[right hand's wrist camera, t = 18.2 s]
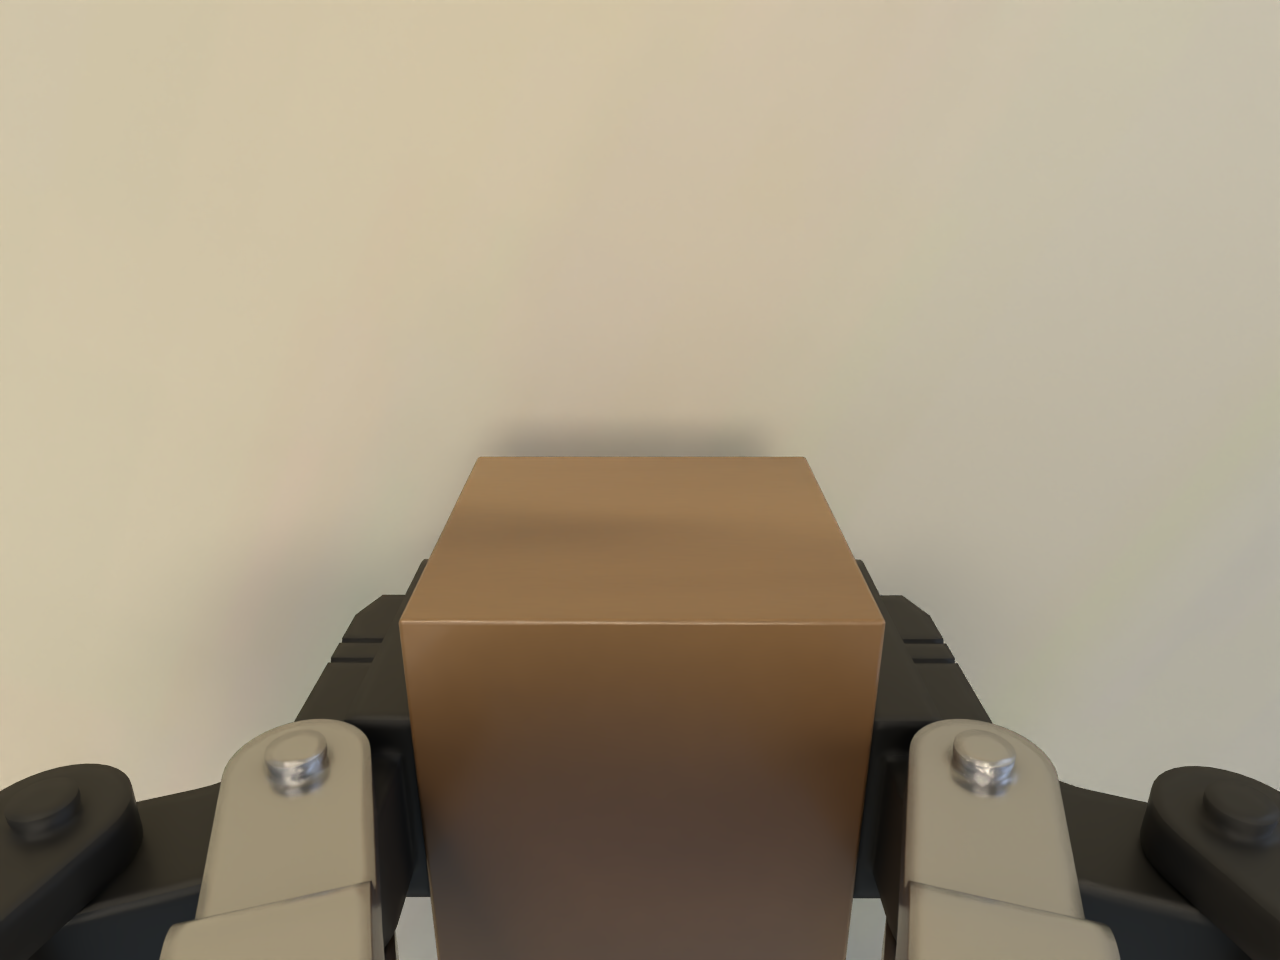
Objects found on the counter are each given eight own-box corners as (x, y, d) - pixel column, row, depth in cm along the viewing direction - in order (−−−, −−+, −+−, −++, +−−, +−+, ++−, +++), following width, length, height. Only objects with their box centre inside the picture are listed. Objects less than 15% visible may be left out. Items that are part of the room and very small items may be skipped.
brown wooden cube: (785, 728, 13) (844, 977, 10) (497, 728, 13) (438, 977, 10) (805, 455, 12) (887, 621, 8) (477, 455, 12) (395, 620, 8)
